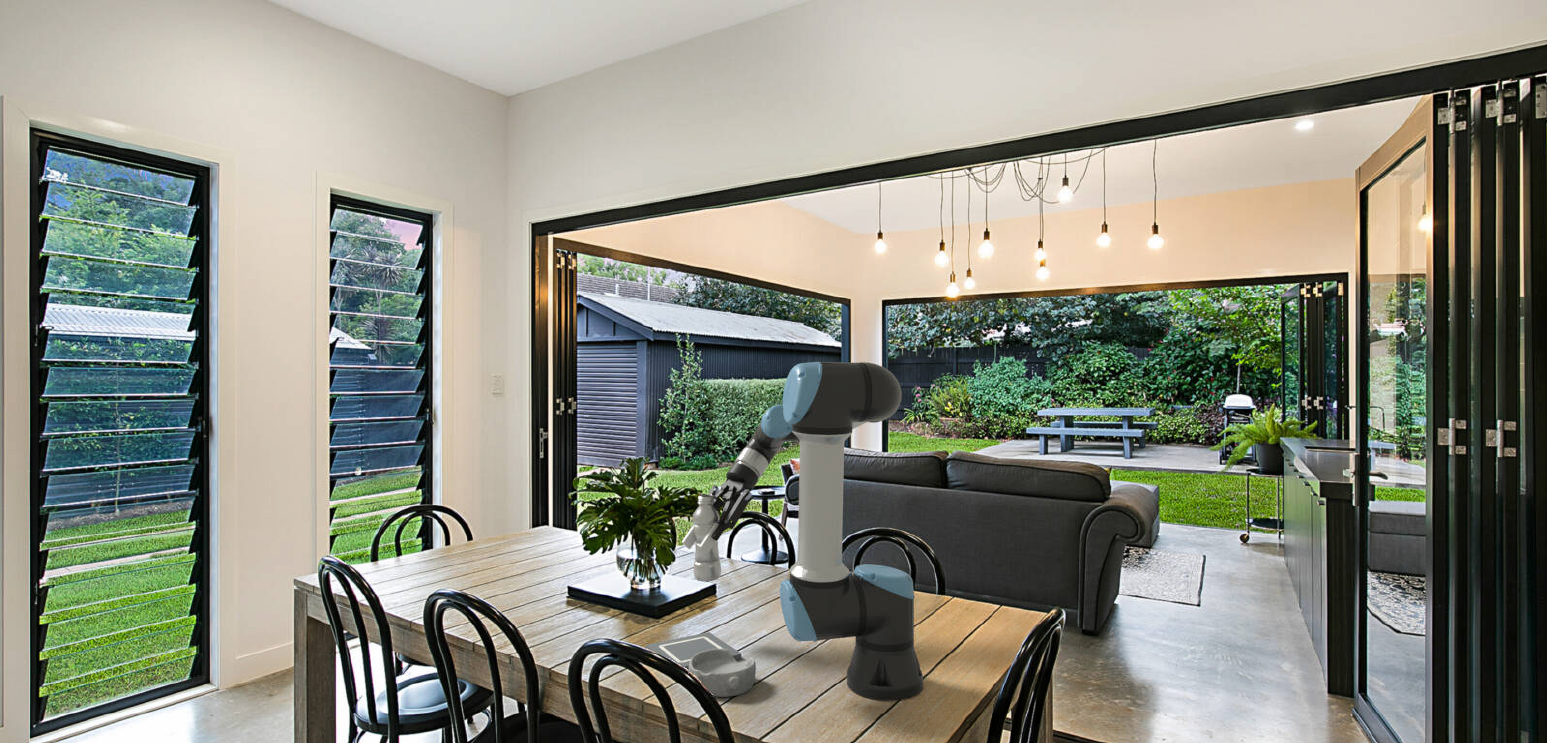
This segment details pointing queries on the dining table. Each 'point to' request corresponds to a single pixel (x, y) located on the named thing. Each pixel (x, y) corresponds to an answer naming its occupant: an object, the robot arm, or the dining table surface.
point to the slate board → (690, 647)
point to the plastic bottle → (703, 521)
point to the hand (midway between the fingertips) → (694, 547)
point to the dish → (722, 672)
